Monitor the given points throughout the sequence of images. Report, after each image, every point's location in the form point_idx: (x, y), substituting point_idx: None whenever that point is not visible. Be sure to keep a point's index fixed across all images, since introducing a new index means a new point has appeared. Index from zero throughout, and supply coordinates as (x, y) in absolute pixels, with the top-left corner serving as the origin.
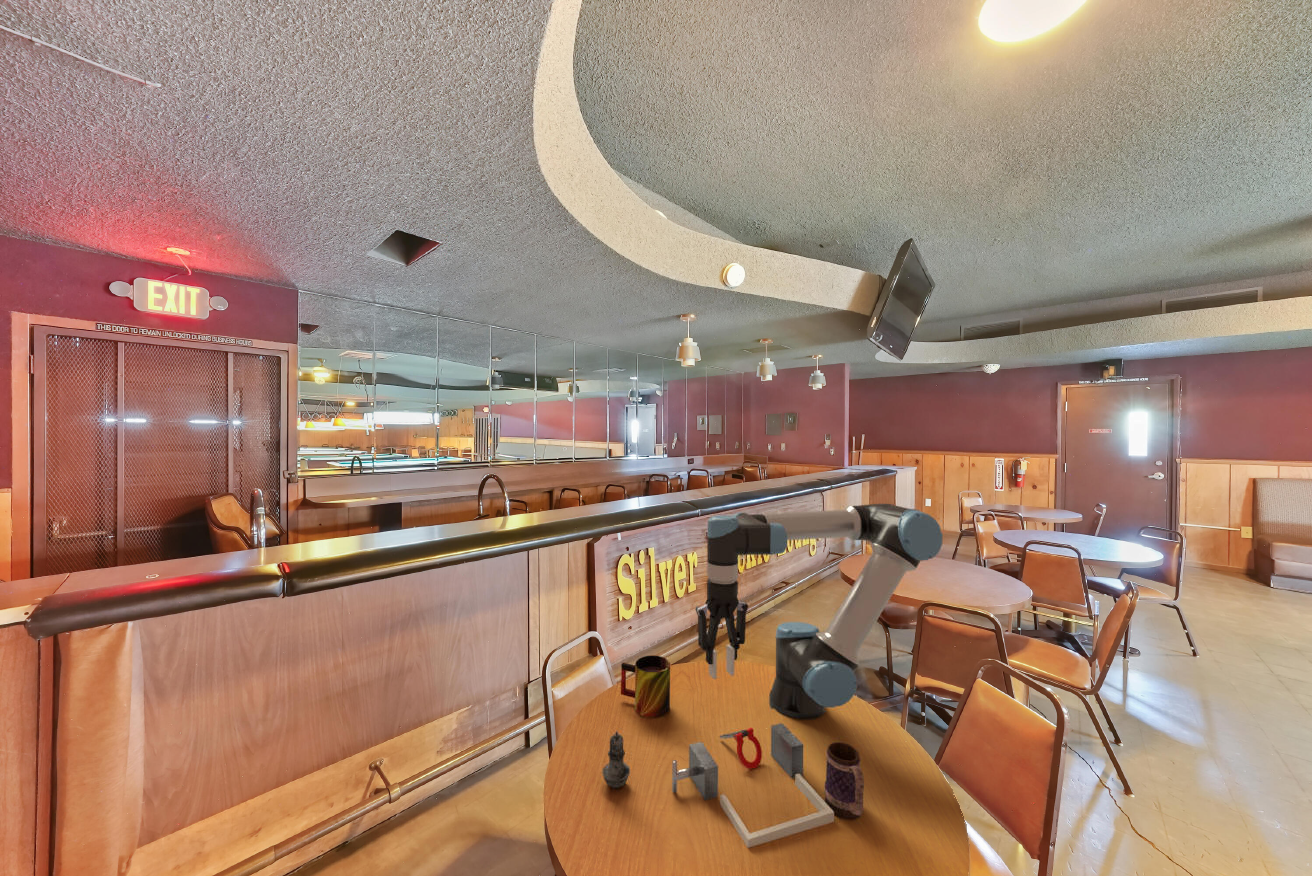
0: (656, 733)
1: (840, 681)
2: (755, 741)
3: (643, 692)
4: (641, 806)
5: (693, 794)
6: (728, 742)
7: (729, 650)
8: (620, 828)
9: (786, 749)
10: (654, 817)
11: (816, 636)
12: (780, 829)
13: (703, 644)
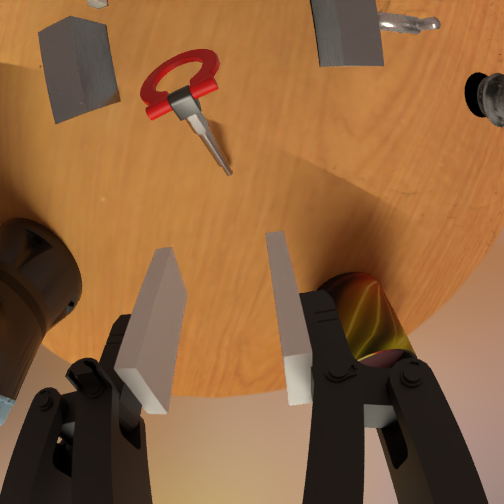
0: (373, 220)
1: None
2: (150, 93)
3: (394, 313)
4: (454, 34)
5: None
6: (211, 157)
7: (155, 370)
8: (484, 13)
9: (83, 39)
10: (437, 2)
11: None
12: None
13: (437, 399)
